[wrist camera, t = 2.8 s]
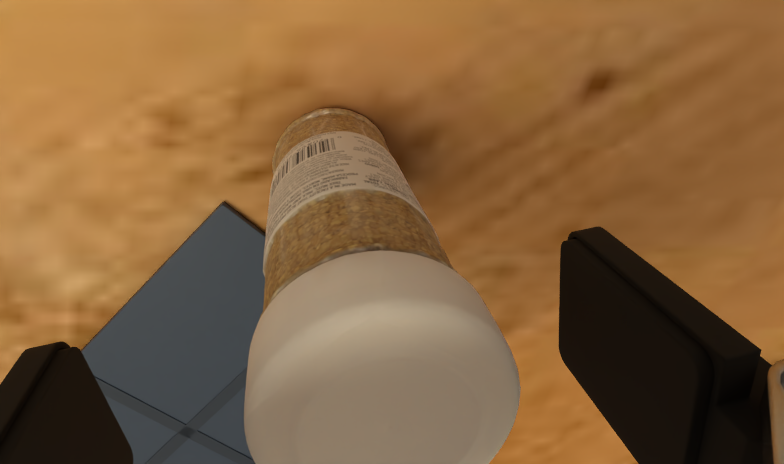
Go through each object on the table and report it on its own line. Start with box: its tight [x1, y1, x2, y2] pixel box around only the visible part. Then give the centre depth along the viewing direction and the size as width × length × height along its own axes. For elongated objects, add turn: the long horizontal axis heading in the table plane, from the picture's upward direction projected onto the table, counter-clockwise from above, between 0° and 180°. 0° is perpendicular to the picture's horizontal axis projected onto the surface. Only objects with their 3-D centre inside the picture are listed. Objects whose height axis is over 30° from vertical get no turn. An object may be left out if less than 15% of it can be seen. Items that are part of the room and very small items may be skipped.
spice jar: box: [244, 108, 520, 464], centre depth 14 cm, size 5×5×13 cm
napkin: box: [81, 202, 266, 464], centre depth 24 cm, size 20×12×1 cm, turn 133°
